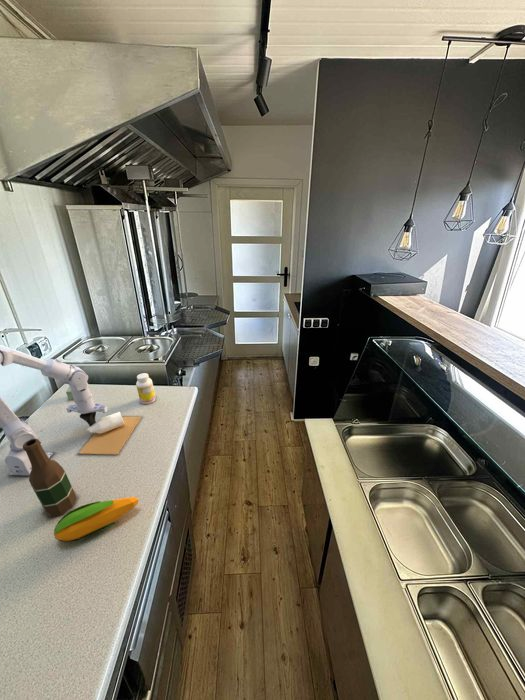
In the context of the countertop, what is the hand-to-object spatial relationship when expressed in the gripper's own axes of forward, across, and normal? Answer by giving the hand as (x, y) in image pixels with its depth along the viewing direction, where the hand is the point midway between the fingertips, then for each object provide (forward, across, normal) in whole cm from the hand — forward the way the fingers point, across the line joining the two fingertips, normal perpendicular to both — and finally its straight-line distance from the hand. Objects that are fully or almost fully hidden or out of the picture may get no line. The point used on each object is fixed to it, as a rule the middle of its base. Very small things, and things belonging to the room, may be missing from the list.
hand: (93, 426), depth 110 cm
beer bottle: (+2, -8, +31) cm, 32 cm away
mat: (+2, -8, +2) cm, 9 cm away
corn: (+2, -23, +36) cm, 43 cm away
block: (+2, +22, -22) cm, 31 cm away
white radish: (+2, -5, 0) cm, 5 cm away
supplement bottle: (+2, -13, -20) cm, 24 cm away
